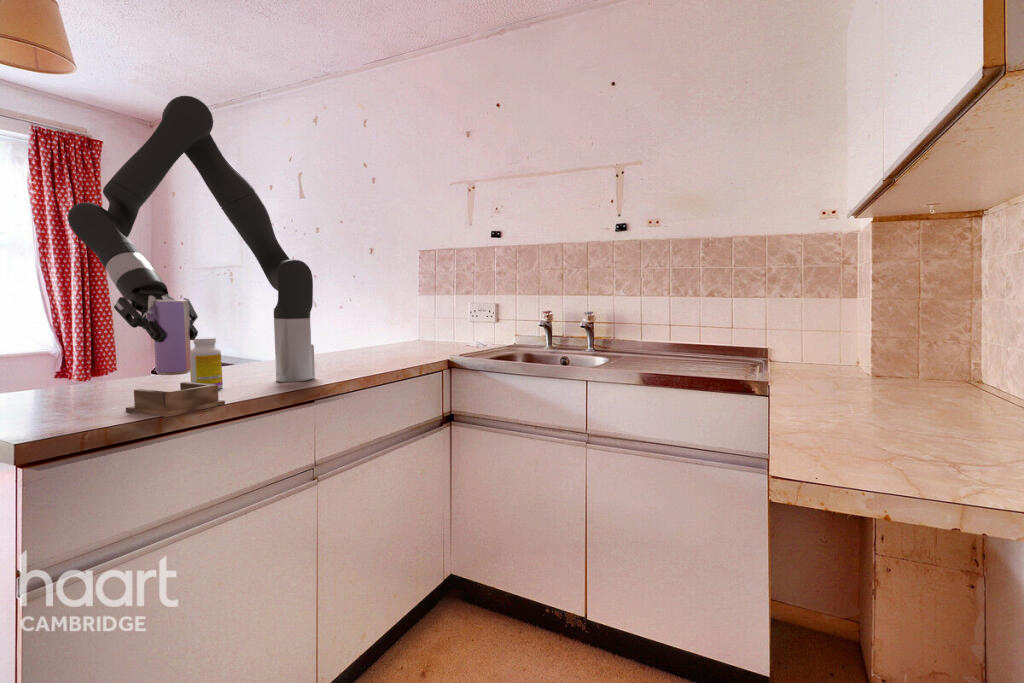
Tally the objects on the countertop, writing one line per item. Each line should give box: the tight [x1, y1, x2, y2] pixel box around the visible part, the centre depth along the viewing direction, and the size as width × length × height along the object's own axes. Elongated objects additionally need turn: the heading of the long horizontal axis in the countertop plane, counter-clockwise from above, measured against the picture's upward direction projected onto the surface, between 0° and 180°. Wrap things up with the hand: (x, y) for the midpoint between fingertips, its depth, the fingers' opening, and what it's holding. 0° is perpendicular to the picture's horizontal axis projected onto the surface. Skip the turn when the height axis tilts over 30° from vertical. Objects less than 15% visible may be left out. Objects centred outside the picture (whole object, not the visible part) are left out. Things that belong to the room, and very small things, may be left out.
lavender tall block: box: [153, 299, 192, 376], centre depth 97 cm, size 6×6×15 cm
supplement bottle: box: [189, 337, 224, 390], centre depth 118 cm, size 7×7×13 cm
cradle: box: [125, 381, 226, 418], centre depth 98 cm, size 12×12×4 cm
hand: (178, 338), depth 96 cm, fingers closed on lavender tall block, 6 cm apart
